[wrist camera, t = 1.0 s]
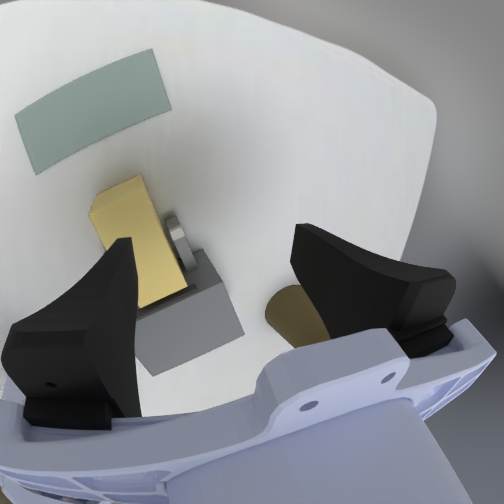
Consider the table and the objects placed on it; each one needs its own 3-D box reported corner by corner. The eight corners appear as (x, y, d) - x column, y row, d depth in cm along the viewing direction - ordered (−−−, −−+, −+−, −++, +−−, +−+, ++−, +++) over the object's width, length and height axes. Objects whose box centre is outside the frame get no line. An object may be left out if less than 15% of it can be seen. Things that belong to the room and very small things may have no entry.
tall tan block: (136, 273, 25) (140, 308, 20) (96, 194, 21) (87, 214, 16) (175, 255, 26) (187, 286, 21) (140, 173, 22) (143, 187, 17)
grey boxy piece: (144, 334, 28) (152, 376, 23) (94, 254, 23) (87, 290, 18) (223, 297, 30) (244, 334, 25) (187, 210, 24) (204, 235, 19)
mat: (37, 174, 18) (35, 175, 18) (16, 115, 15) (14, 115, 15) (171, 109, 20) (171, 109, 20) (151, 49, 18) (151, 48, 17)
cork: (278, 280, 32) (339, 344, 22) (318, 289, 35) (378, 344, 25) (256, 325, 33) (305, 395, 24) (296, 329, 36) (346, 389, 27)
